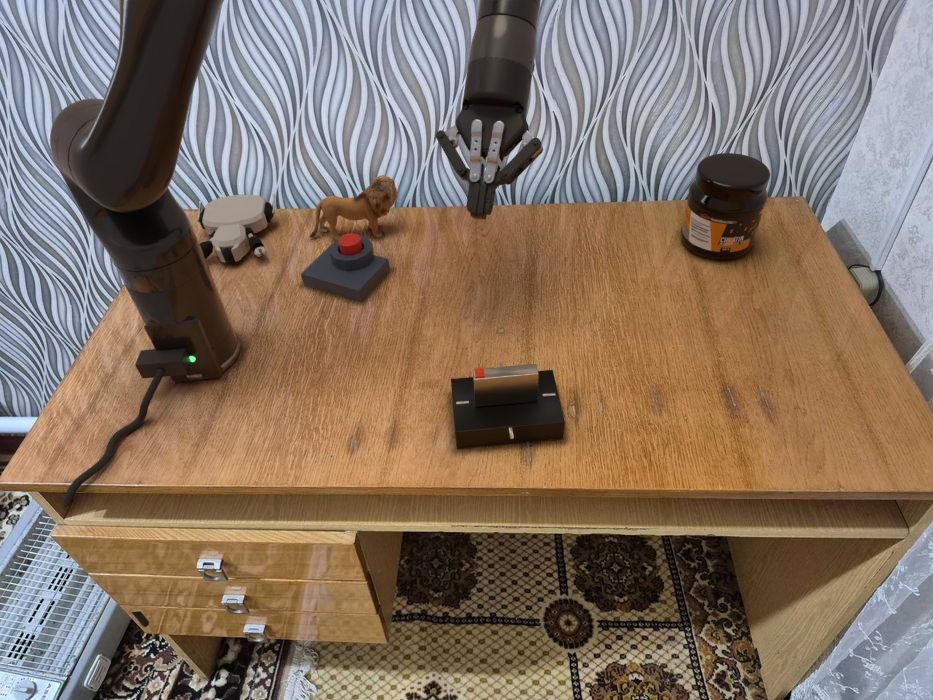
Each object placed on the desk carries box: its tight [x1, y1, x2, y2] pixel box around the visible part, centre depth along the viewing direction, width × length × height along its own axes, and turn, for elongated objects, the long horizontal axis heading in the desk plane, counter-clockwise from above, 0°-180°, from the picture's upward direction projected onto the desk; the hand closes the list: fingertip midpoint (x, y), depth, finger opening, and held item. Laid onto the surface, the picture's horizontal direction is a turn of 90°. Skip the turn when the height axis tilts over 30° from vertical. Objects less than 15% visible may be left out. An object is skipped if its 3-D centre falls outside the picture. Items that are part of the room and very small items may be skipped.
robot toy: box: [196, 192, 277, 264], centre depth 104 cm, size 12×4×15 cm
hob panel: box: [450, 363, 566, 450], centre depth 75 cm, size 12×11×3 cm
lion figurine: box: [308, 174, 398, 241], centre depth 102 cm, size 15×5×9 cm, turn 103°
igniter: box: [300, 235, 391, 303], centre depth 96 cm, size 10×9×4 cm
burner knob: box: [472, 363, 539, 407], centre depth 73 cm, size 7×2×5 cm, turn 94°
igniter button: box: [338, 232, 362, 256], centre depth 95 cm, size 3×3×2 cm
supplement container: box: [680, 152, 771, 260], centre depth 95 cm, size 10×10×12 cm
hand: (478, 217), depth 77 cm, fingers closed
